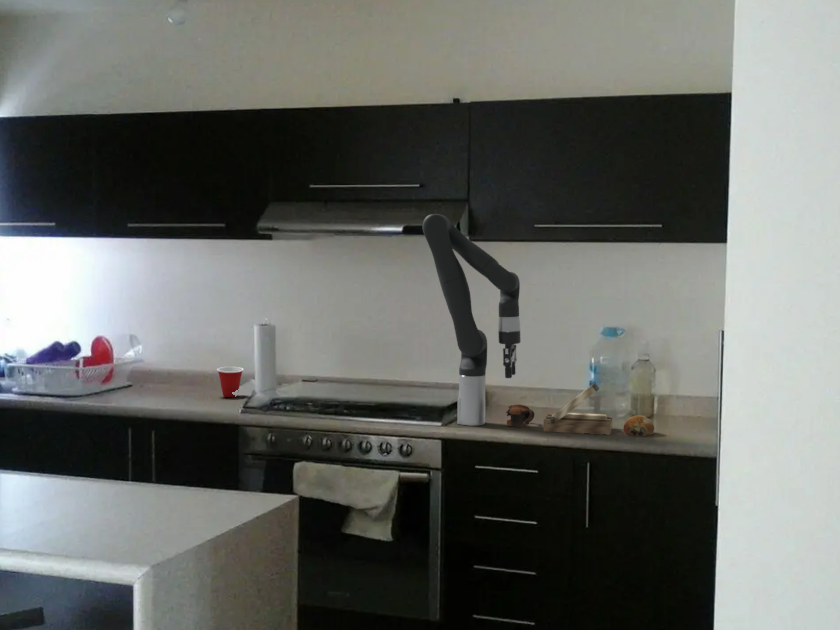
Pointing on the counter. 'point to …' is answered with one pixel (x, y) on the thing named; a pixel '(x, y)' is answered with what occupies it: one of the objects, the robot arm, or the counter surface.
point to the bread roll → (638, 426)
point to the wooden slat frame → (579, 423)
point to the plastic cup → (229, 379)
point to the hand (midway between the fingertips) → (510, 376)
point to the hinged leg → (575, 402)
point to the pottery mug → (519, 415)
